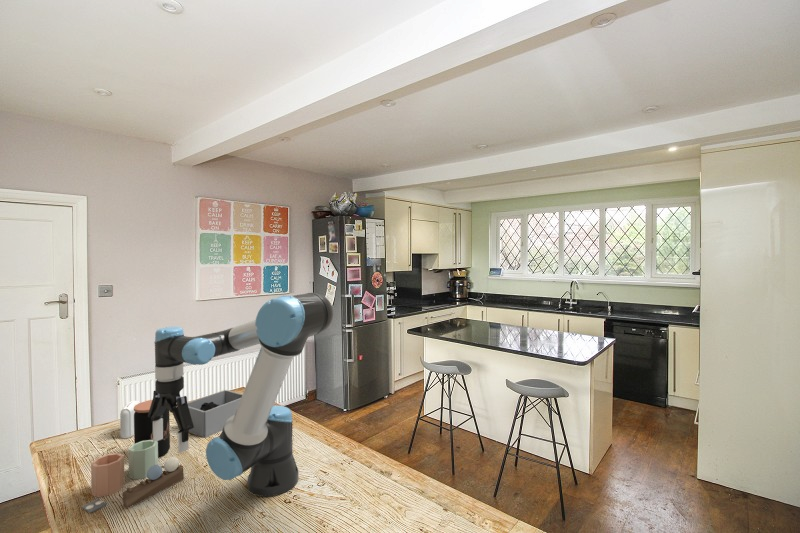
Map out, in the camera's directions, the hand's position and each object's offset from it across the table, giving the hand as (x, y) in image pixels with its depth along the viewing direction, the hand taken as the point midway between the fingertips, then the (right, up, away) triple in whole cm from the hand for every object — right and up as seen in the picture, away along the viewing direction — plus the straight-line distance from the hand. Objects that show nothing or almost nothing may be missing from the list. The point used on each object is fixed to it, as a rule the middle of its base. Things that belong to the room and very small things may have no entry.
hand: (170, 445), depth 119 cm
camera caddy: (-6, -11, +43) cm, 45 cm away
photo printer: (-36, -11, +35) cm, 51 cm away
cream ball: (0, -8, 0) cm, 8 cm away
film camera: (-7, -11, +42) cm, 44 cm away
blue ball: (-2, -8, -4) cm, 9 cm away
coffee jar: (-17, -12, +18) cm, 27 cm away
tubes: (-14, -12, -1) cm, 18 cm away
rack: (-2, -12, -4) cm, 13 cm away
